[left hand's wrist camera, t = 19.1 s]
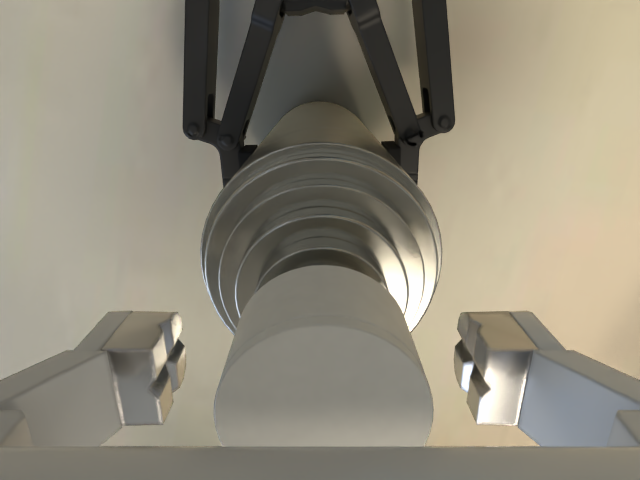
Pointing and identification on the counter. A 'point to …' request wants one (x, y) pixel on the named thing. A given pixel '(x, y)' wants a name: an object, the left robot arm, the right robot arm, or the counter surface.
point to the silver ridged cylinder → (320, 215)
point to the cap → (323, 366)
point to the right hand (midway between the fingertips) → (322, 248)
